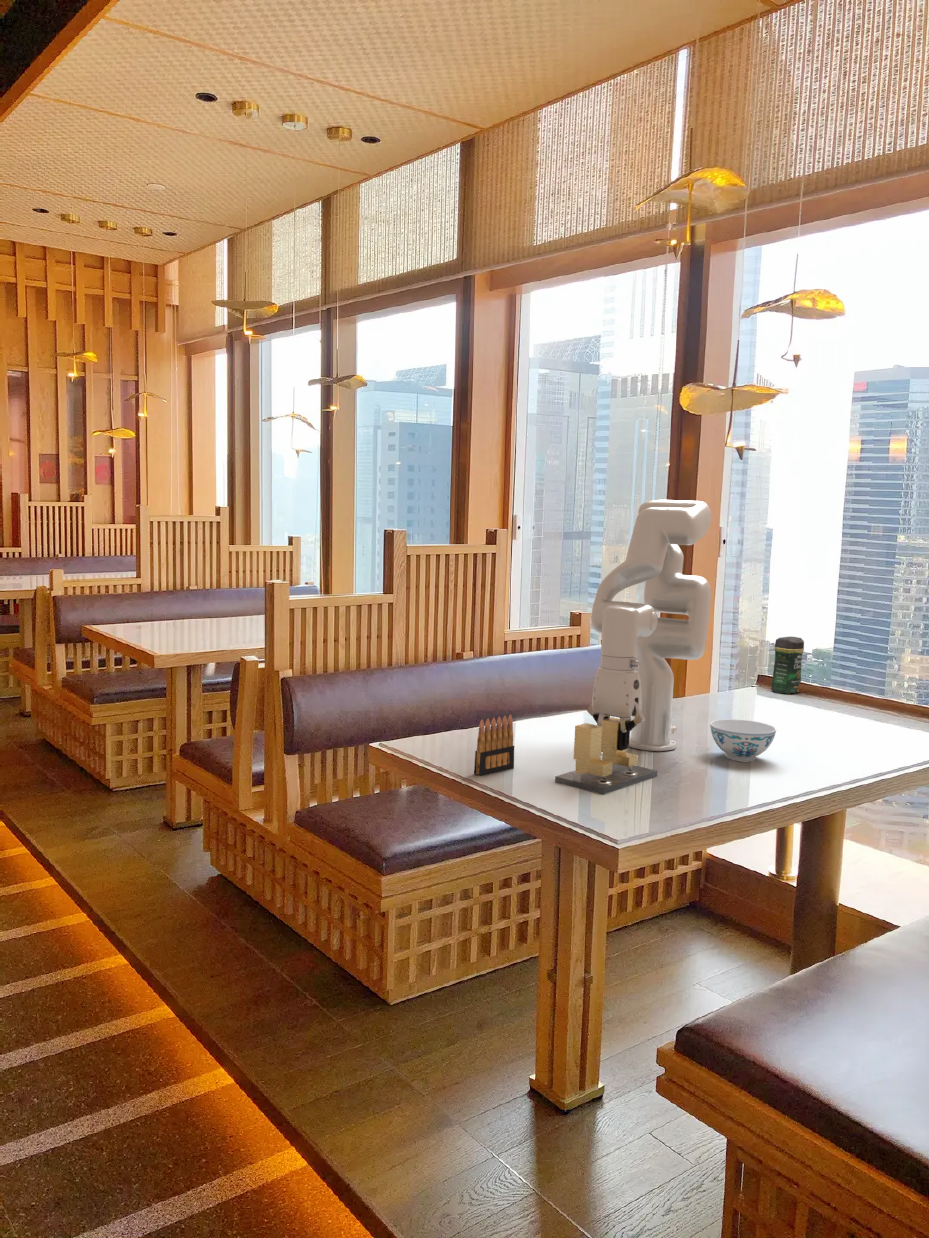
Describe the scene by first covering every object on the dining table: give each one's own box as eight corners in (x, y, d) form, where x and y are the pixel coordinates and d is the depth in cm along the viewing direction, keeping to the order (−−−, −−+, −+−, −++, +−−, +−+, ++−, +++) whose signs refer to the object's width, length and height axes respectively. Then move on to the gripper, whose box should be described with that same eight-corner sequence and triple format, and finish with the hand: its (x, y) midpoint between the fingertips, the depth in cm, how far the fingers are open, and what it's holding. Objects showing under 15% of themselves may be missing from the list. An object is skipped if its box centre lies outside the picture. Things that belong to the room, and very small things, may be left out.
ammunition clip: (508, 766, 217) (510, 713, 216) (514, 768, 216) (516, 714, 214) (473, 774, 210) (475, 719, 208) (479, 776, 208) (482, 720, 207)
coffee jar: (788, 695, 320) (792, 638, 318) (767, 691, 326) (771, 636, 324) (804, 692, 327) (808, 637, 325) (783, 689, 333) (787, 634, 331)
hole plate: (610, 765, 221) (613, 711, 220) (657, 775, 214) (660, 720, 212) (555, 781, 206) (557, 724, 204) (603, 794, 198) (606, 734, 197)
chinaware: (780, 756, 236) (782, 725, 235) (765, 769, 223) (767, 736, 222) (718, 747, 243) (720, 716, 242) (700, 759, 230) (702, 726, 229)
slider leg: (609, 763, 216) (612, 717, 214) (637, 769, 211) (640, 722, 210) (599, 766, 213) (601, 719, 211) (627, 772, 208) (630, 725, 207)
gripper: (661, 666, 208) (656, 751, 210) (595, 657, 219) (590, 738, 221) (642, 670, 202) (637, 757, 204) (575, 660, 213) (571, 743, 215)
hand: (613, 746), depth 212 cm, fingers closed on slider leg, 4 cm apart
